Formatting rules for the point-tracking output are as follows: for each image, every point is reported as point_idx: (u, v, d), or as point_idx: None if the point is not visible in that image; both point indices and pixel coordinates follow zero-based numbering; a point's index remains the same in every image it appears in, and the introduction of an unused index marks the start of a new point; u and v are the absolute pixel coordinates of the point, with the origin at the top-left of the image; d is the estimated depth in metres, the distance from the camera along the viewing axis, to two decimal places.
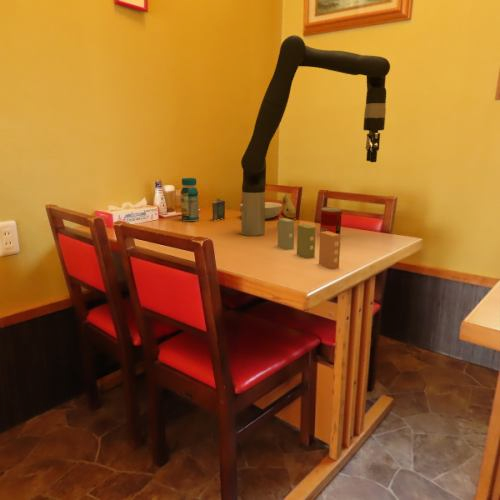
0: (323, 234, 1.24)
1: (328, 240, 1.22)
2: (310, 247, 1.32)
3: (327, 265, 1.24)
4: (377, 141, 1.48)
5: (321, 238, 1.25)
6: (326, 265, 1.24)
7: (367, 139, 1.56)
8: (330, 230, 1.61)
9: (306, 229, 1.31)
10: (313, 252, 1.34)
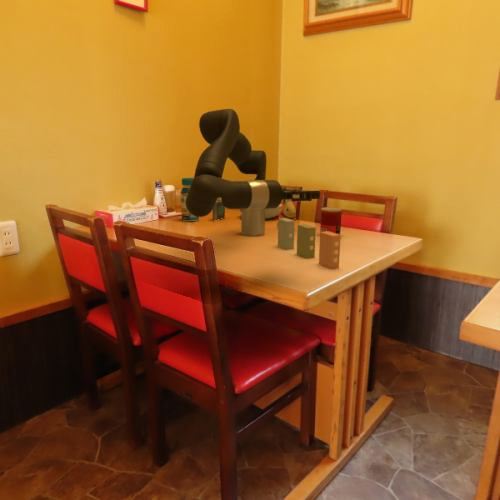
0: (323, 234, 1.24)
1: (328, 240, 1.22)
2: (310, 247, 1.32)
3: (327, 265, 1.24)
4: None
5: (321, 238, 1.25)
6: (326, 265, 1.24)
7: None
8: (330, 230, 1.61)
9: (306, 229, 1.31)
10: (313, 252, 1.34)
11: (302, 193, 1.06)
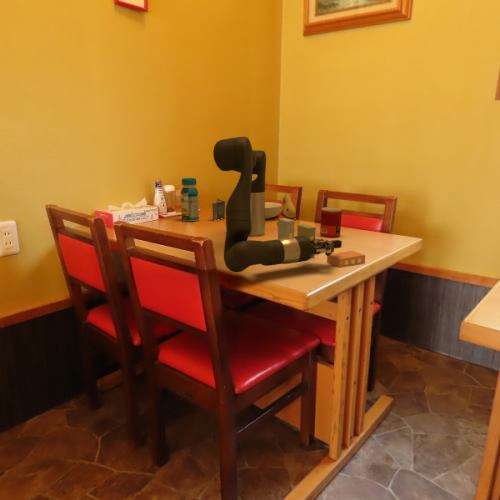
0: None
1: (357, 254, 1.28)
2: None
3: (337, 257, 1.25)
4: None
5: (349, 251, 1.31)
6: (336, 257, 1.25)
7: None
8: (330, 230, 1.61)
9: (306, 229, 1.31)
10: None
11: (331, 247, 1.18)
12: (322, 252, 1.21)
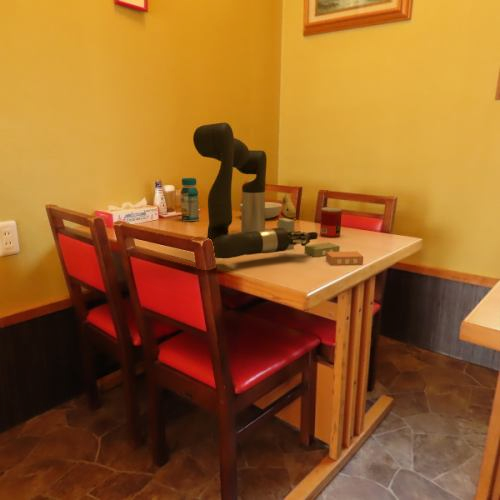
0: (357, 252, 1.30)
1: (356, 255, 1.27)
2: (324, 251, 1.35)
3: (331, 255, 1.27)
4: None
5: (352, 252, 1.31)
6: (330, 255, 1.27)
7: None
8: (330, 230, 1.61)
9: (336, 245, 1.39)
10: (319, 256, 1.35)
11: (307, 238, 1.29)
12: (299, 243, 1.32)
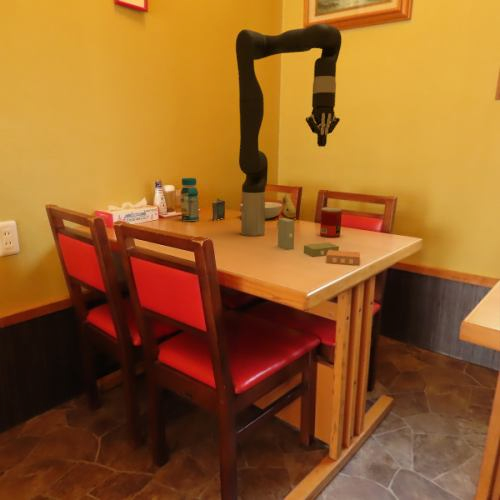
0: (358, 253, 1.29)
1: (354, 255, 1.27)
2: (322, 251, 1.36)
3: (328, 253, 1.29)
4: (312, 126, 1.36)
5: (354, 252, 1.30)
6: (328, 253, 1.29)
7: None
8: (330, 230, 1.61)
9: (336, 245, 1.38)
10: None
11: None
12: (329, 122, 1.37)
